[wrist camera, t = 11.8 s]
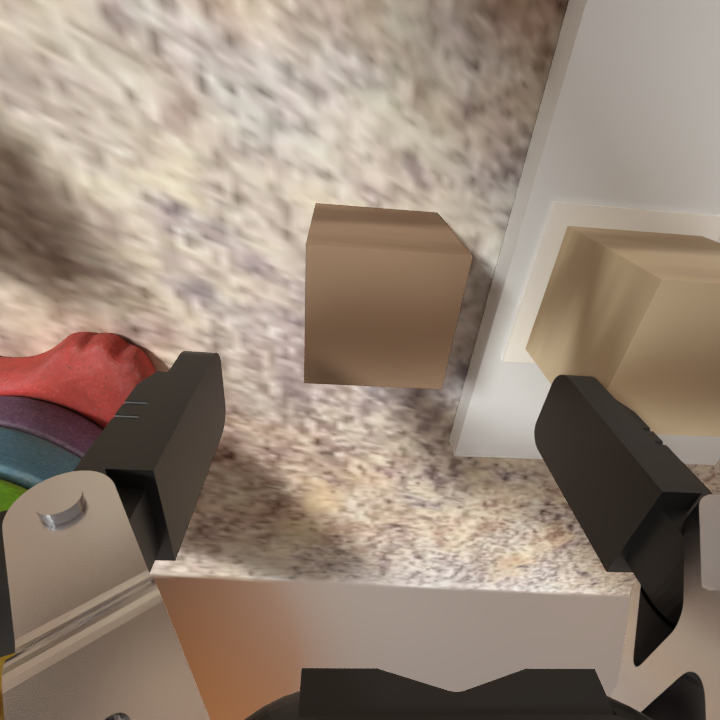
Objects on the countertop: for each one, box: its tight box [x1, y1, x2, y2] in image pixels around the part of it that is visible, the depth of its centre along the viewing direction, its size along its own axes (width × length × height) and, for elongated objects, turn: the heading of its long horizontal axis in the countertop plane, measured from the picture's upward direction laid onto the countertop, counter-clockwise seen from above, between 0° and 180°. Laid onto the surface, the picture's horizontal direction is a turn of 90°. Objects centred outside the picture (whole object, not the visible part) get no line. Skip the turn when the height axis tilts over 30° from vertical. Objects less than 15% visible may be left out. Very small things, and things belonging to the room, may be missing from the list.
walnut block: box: [304, 203, 473, 389], centre depth 14 cm, size 4×4×5 cm
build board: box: [449, 0, 720, 465], centre depth 17 cm, size 18×14×1 cm
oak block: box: [525, 226, 720, 437], centre depth 14 cm, size 5×5×5 cm
